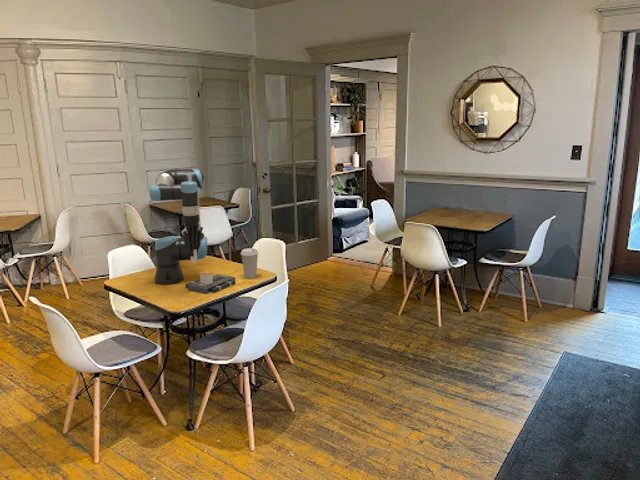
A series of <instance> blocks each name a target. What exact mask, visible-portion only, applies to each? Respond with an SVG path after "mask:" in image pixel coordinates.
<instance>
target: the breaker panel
mask: <svg viewBox="0 0 640 480" xmlns="http://www.w3.org/2000/svg"><path fill="white" fill-rule="evenodd" d="M232 280H234V281H235V282H236V277H235V276H230V275H225V274H219V273H217V274H214V275H213V283H211V284H209V285H207V284H202V283H200V281H198V282H196V283H193V284H191V285H188V288H187V289H188V291H191V292H196V293H200V294H204V295H207V294H210V293H212V289H213V288H215V287H216V286H220V285H222V284H225V283H226V282H229V281H232Z"/></svg>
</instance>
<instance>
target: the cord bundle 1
mask: <svg viewBox="0 0 640 480" xmlns="http://www.w3.org/2000/svg"><path fill="white" fill-rule="evenodd" d="M198 281H200V278H199V279H195V280H194V281H190V282H188V283H185V284H184V286H185V289H188V285H191V284H193V283H196V282H198Z"/></svg>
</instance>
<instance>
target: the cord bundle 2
mask: <svg viewBox="0 0 640 480" xmlns="http://www.w3.org/2000/svg"><path fill="white" fill-rule="evenodd" d="M234 285H236V280H235V281H234V280H232V281H229V282H226V283H225V284H222V285H220V286H216V287H215V288H213V289H212V292H211V293H214V294H215V293H218V292H221V291H223V290H224V289H227V288H229V287H230V288H231V287H233V286H234Z"/></svg>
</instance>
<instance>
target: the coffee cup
mask: <svg viewBox="0 0 640 480" xmlns="http://www.w3.org/2000/svg"><path fill="white" fill-rule="evenodd" d="M240 255H241V261H242V266H243V267H242V269H243V274H244V278H245V279H254V278H257V277H256V276H258V275H257V272H258V258H259V257H258V256H259V251H258V249H257V248H253V247H252V248H251V247H249V248H243V249H241V251H240Z"/></svg>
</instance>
